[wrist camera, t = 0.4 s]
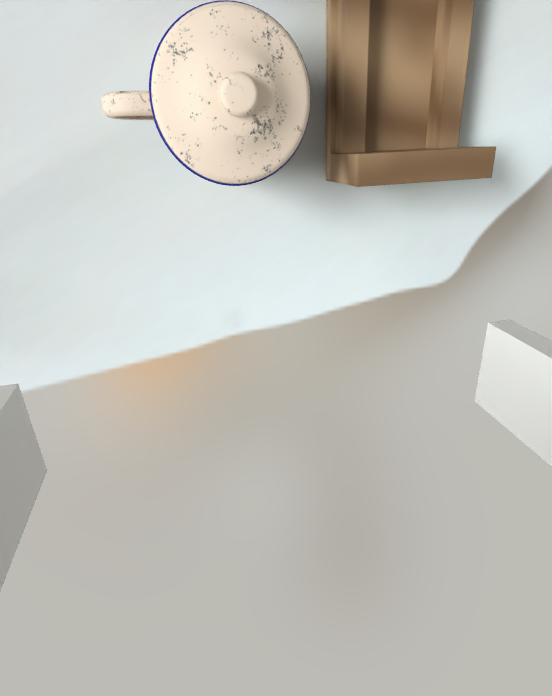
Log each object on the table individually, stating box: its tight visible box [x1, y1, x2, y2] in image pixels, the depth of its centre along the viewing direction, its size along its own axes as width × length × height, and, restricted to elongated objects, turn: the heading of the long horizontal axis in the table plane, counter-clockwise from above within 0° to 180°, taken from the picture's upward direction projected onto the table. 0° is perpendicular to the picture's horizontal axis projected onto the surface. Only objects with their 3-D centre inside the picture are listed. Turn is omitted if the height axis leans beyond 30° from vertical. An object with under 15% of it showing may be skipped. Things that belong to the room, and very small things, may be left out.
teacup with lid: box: [101, 1, 311, 186], centre depth 27 cm, size 12×9×12 cm
